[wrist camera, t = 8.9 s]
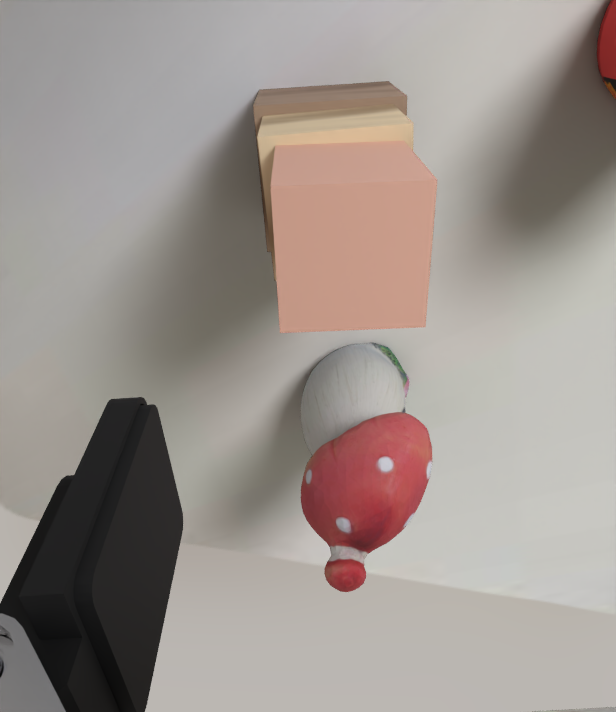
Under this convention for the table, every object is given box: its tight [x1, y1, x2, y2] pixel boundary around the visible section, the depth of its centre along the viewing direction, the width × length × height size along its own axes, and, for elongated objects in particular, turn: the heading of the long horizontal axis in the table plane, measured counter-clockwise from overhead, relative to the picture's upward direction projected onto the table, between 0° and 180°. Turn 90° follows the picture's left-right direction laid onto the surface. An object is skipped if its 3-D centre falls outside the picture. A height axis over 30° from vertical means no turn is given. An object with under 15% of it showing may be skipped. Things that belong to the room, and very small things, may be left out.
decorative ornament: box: [301, 343, 432, 592], centre depth 35 cm, size 9×7×15 cm
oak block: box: [257, 104, 413, 281], centre depth 26 cm, size 6×6×5 cm
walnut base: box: [253, 81, 407, 252], centre depth 31 cm, size 7×7×6 cm
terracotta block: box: [271, 141, 437, 333], centre depth 21 cm, size 5×5×6 cm
